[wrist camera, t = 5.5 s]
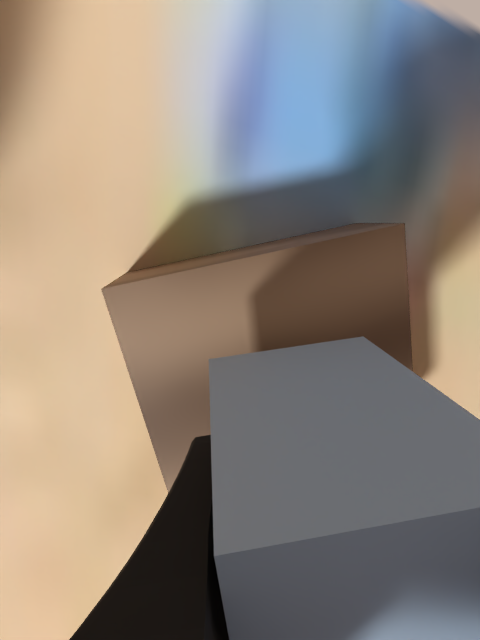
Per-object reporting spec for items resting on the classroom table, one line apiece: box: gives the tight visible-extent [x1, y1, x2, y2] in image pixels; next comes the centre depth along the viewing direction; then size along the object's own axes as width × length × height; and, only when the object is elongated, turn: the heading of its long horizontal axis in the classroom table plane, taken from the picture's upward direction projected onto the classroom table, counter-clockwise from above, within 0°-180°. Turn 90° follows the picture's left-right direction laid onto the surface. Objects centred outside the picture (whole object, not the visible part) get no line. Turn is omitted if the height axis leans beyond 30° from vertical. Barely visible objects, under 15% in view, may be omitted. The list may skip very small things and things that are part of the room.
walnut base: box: [102, 223, 413, 493], centre depth 14 cm, size 10×10×4 cm
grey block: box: [209, 336, 480, 640], centre depth 8 cm, size 5×5×6 cm
